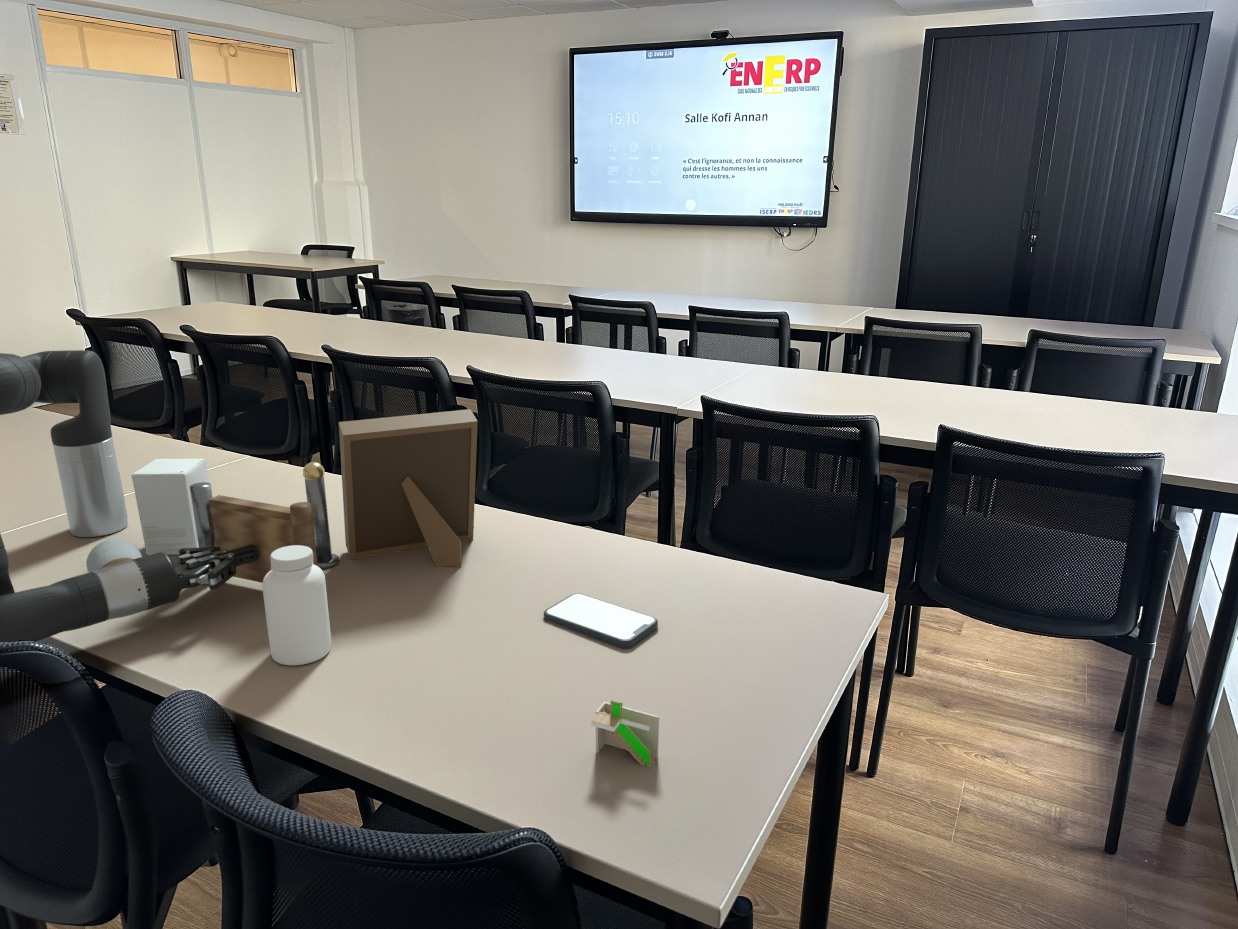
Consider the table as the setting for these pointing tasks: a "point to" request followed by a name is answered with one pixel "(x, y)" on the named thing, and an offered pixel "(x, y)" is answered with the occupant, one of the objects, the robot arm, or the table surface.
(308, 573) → the pill bottle
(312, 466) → the post
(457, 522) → the photo frame
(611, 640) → the smartphone
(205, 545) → the hinge post
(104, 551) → the ceramic mug
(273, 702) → the table surface
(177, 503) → the supplement box
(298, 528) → the gate
